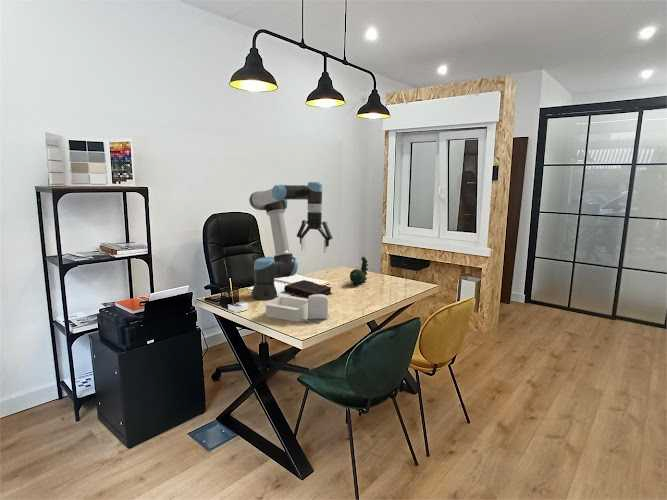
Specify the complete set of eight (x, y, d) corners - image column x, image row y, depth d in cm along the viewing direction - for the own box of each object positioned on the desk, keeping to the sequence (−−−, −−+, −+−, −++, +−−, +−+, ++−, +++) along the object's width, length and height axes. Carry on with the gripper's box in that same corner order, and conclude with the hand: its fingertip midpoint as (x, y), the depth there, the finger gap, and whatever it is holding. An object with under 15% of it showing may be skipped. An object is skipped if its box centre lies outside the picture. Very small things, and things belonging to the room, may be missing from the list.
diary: (313, 301, 233) (313, 292, 232) (284, 293, 249) (284, 285, 248) (333, 294, 247) (333, 286, 246) (304, 286, 263) (304, 279, 262)
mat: (306, 321, 197) (306, 320, 197) (317, 314, 208) (317, 313, 207) (319, 323, 194) (319, 322, 194) (329, 316, 205) (329, 315, 205)
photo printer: (307, 319, 198) (308, 295, 196) (307, 316, 202) (307, 293, 200) (328, 319, 199) (328, 295, 197) (327, 316, 203) (327, 293, 201)
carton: (263, 317, 201) (263, 304, 199) (282, 307, 218) (282, 295, 217) (295, 323, 193) (295, 310, 192) (313, 312, 210) (313, 299, 209)
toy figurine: (357, 281, 285) (345, 286, 262) (359, 255, 284) (347, 258, 261) (370, 283, 282) (359, 288, 259) (372, 256, 280) (360, 259, 257)
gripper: (290, 210, 210) (290, 250, 214) (333, 213, 200) (332, 254, 204) (297, 210, 217) (297, 248, 220) (339, 212, 207) (338, 252, 210)
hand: (314, 251), depth 212 cm, fingers open, 13 cm apart
